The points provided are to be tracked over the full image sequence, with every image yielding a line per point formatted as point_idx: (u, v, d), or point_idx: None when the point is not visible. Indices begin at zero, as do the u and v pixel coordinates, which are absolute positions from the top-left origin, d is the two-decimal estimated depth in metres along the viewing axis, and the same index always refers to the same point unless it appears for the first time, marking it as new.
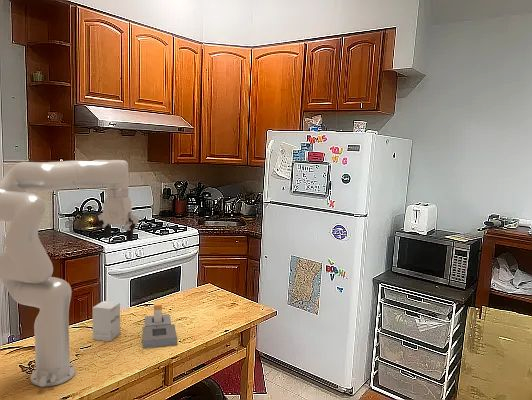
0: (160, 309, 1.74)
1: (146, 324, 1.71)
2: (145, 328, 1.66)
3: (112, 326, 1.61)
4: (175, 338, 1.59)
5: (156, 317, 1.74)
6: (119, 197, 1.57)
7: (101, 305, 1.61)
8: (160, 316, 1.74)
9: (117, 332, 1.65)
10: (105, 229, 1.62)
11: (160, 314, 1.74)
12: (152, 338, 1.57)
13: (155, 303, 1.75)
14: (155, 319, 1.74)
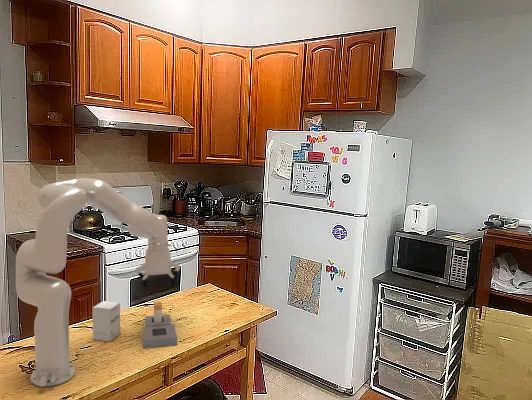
0: (160, 309, 1.74)
1: (146, 324, 1.71)
2: (145, 328, 1.66)
3: (112, 326, 1.61)
4: (175, 338, 1.59)
5: (156, 317, 1.74)
6: None
7: (101, 305, 1.61)
8: (160, 316, 1.74)
9: (117, 332, 1.65)
10: None
11: (160, 314, 1.74)
12: (152, 338, 1.57)
13: (155, 303, 1.75)
14: (155, 319, 1.74)
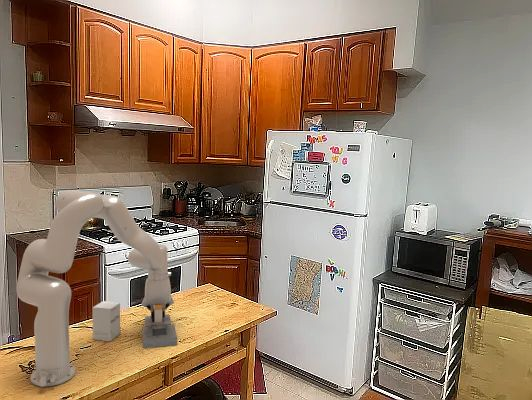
0: (160, 309, 1.74)
1: (146, 324, 1.71)
2: (145, 328, 1.66)
3: (112, 326, 1.61)
4: (175, 338, 1.59)
5: (157, 317, 1.74)
6: None
7: (101, 305, 1.61)
8: (160, 316, 1.74)
9: (117, 332, 1.65)
10: None
11: (160, 314, 1.74)
12: (152, 338, 1.57)
13: None
14: (155, 319, 1.74)
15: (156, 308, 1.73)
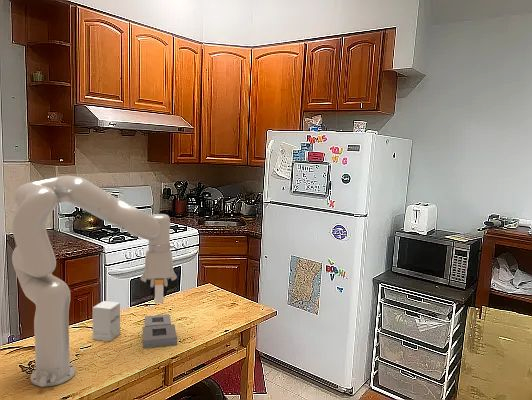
0: (161, 284, 1.59)
1: (146, 324, 1.71)
2: (145, 328, 1.66)
3: (112, 326, 1.61)
4: (175, 338, 1.59)
5: (157, 293, 1.59)
6: None
7: (101, 305, 1.61)
8: (161, 292, 1.60)
9: (117, 332, 1.65)
10: None
11: (161, 290, 1.59)
12: (152, 338, 1.57)
13: None
14: (156, 295, 1.59)
15: (157, 283, 1.59)
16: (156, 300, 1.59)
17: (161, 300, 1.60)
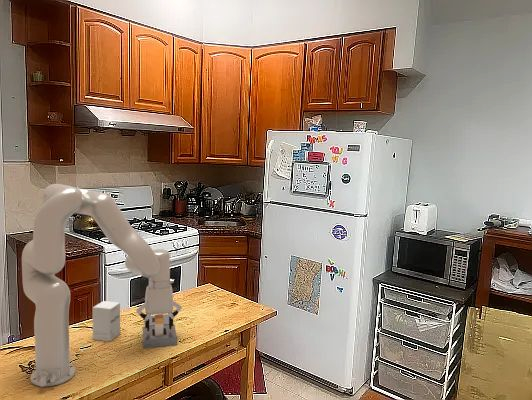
0: (161, 323, 1.61)
1: None
2: (145, 328, 1.66)
3: (112, 326, 1.61)
4: (175, 338, 1.59)
5: (157, 331, 1.61)
6: None
7: (101, 305, 1.61)
8: (161, 330, 1.61)
9: (117, 332, 1.65)
10: None
11: (161, 328, 1.61)
12: (152, 338, 1.57)
13: (156, 316, 1.62)
14: (156, 334, 1.61)
15: (157, 322, 1.60)
16: None
17: None
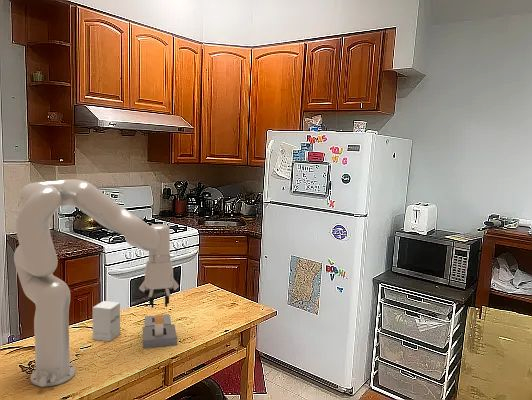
0: (161, 323, 1.61)
1: (146, 324, 1.71)
2: (145, 328, 1.66)
3: (112, 326, 1.61)
4: (175, 338, 1.59)
5: (157, 332, 1.61)
6: None
7: (101, 305, 1.61)
8: (161, 330, 1.61)
9: (117, 332, 1.65)
10: None
11: (161, 328, 1.61)
12: (152, 338, 1.57)
13: (156, 316, 1.62)
14: (156, 334, 1.61)
15: (157, 322, 1.60)
16: None
17: None
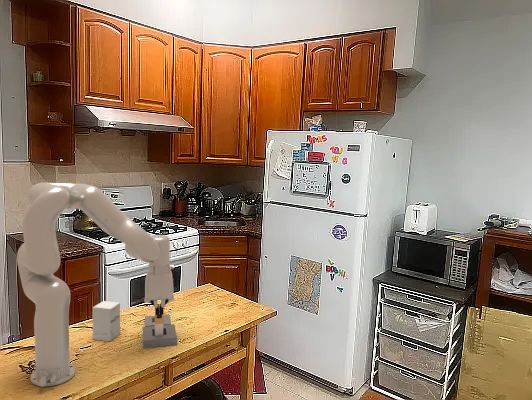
0: (161, 323, 1.61)
1: (146, 324, 1.71)
2: (145, 328, 1.66)
3: (112, 326, 1.61)
4: (175, 338, 1.59)
5: (157, 331, 1.61)
6: None
7: (101, 305, 1.61)
8: (161, 330, 1.61)
9: (117, 332, 1.65)
10: None
11: (161, 328, 1.61)
12: (152, 338, 1.57)
13: (156, 316, 1.62)
14: (156, 334, 1.61)
15: (157, 322, 1.60)
16: None
17: None
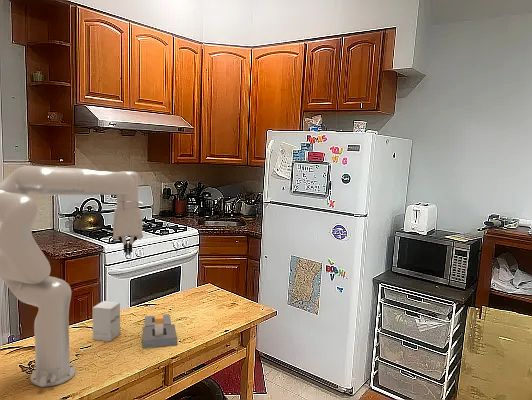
0: (161, 323, 1.61)
1: (146, 324, 1.71)
2: (145, 328, 1.66)
3: (112, 326, 1.61)
4: (175, 338, 1.59)
5: (157, 332, 1.61)
6: None
7: (101, 305, 1.61)
8: (161, 330, 1.61)
9: (117, 332, 1.65)
10: None
11: (161, 328, 1.61)
12: (152, 338, 1.57)
13: (156, 316, 1.62)
14: (156, 334, 1.61)
15: (157, 322, 1.60)
16: None
17: None
